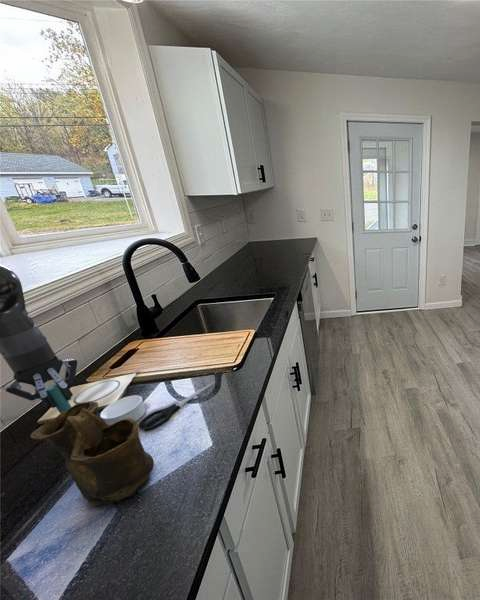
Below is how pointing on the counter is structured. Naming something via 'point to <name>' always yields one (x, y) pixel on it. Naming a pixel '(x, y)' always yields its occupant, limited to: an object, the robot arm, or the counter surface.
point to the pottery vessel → (99, 453)
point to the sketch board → (94, 394)
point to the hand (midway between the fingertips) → (60, 402)
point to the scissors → (166, 412)
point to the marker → (58, 398)
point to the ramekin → (123, 410)
